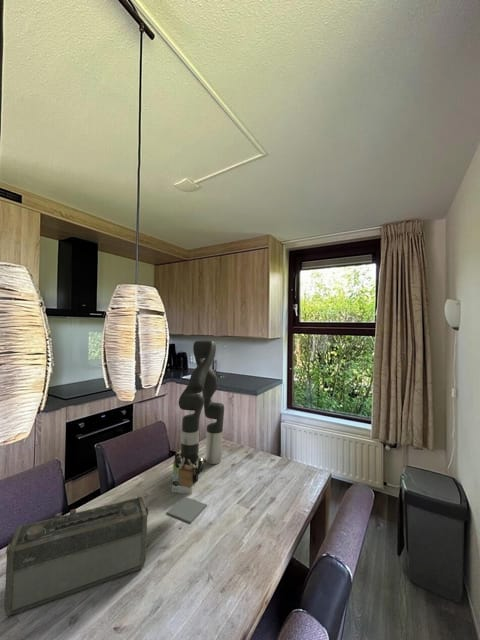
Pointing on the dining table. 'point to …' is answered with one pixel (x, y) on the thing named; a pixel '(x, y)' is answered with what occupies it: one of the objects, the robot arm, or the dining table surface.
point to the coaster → (187, 509)
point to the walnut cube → (186, 476)
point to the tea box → (175, 485)
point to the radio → (74, 553)
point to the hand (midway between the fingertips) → (188, 480)
